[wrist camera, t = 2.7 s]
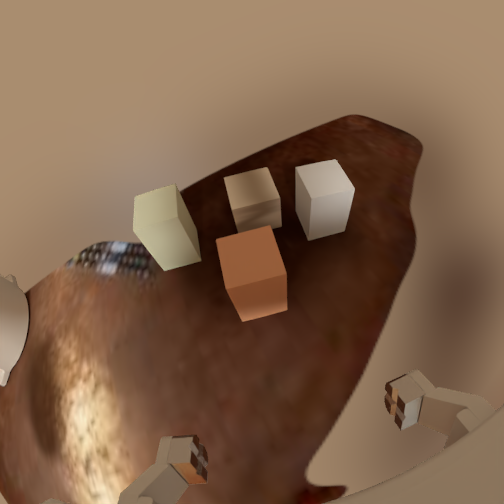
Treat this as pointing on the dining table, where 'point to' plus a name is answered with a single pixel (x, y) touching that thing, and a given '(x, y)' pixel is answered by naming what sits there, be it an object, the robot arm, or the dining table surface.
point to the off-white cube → (254, 200)
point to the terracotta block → (253, 273)
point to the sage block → (166, 227)
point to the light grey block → (323, 198)
